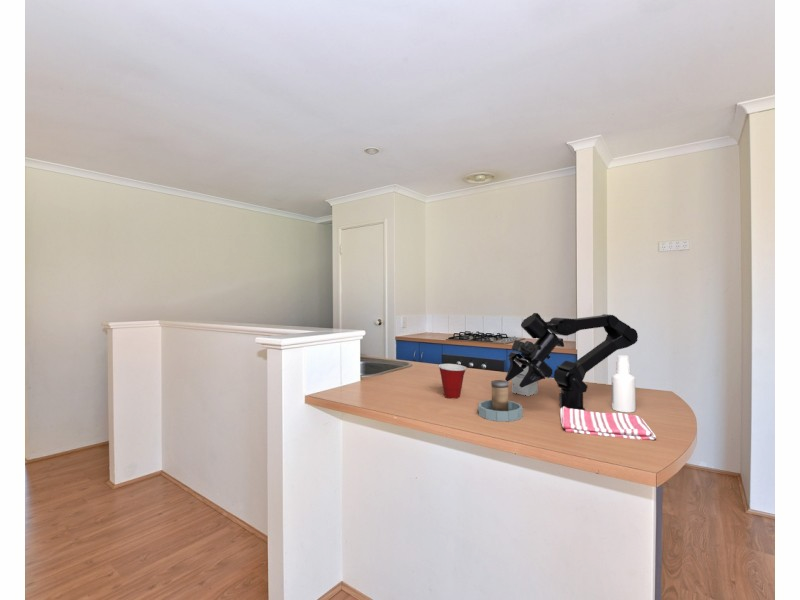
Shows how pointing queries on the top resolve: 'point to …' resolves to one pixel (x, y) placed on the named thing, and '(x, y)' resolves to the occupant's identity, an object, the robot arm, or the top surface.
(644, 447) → the top surface
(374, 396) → the top surface
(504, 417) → the bowl
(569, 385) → the robot arm
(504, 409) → the walnut jar
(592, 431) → the dish towel
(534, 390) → the supplement box
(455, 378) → the plastic cup
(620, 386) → the spray bottle
